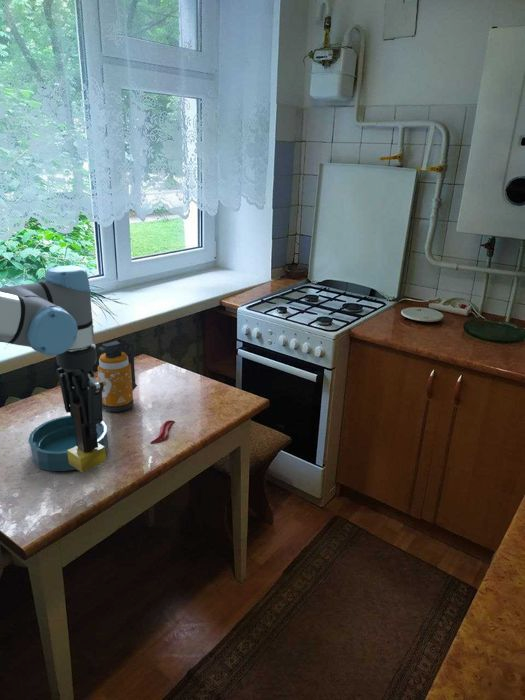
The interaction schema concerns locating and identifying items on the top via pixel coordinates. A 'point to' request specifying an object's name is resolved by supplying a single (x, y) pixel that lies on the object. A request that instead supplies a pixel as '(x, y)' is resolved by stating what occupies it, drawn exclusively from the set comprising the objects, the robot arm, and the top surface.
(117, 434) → the top surface
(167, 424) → the cayenne pepper
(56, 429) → the basin
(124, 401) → the canister
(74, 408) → the scrub brush
